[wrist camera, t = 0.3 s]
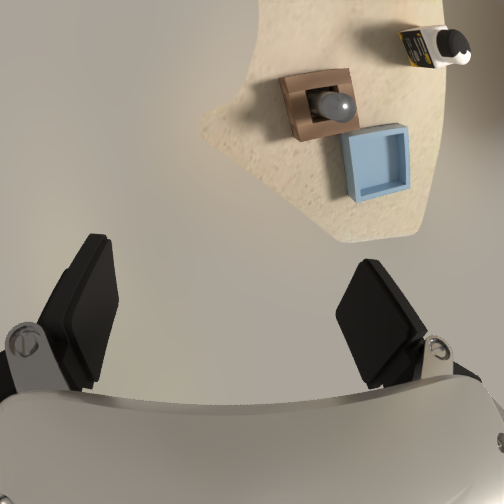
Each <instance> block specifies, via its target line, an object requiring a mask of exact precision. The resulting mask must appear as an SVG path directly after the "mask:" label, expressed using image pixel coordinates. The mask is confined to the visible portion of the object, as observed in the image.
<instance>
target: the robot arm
mask: <svg viewBox="0 0 504 504" xmlns="http://www.w3.org/2000/svg"><path fill="white" fill-rule="evenodd" d="M118 302H119V297H118V291H117V284H116V276H115V269H114V261H113V251H112V243H111V240H110V239H107V237H106V235H103V234H90V235H89V236H88V237H87V239H86V241H85V242H84V244H83V245H82V247H81V248H80V250H79V252H78V253H77V255H76V256H75V258H74V260H73V262H72V263H71V265H70V267H69V268H68V269H66V270H65V271H64V272H63V274H62V276H61V278H60V279H59V281H58V283H57V285H56V286H55V288H54V290H53V292H52V294H51V296H50V297H49V300H48V302H47V303H46V305H45V307H44V309H43V311H42V313H41V315H40V317H39V319H38V322H37V324H36V323H33V322H23V323H20V324H18V325H16V326H15V327H13V328H12V329H11V331H9V333H8V335H7V337H6V340H5V350H4V351H2V352H0V504H504V410H503V409H502V408H501V406H500V405H499V404H498V403H497V402H495V401H494V399H493V398H492V397H491V396H490V394H489V393H488V391H487V390H486V388H485V387H484V386H483V384H482V381H481V379H480V378H479V377H478V376H477V375H475V374H474V373H472V372H470V371H469V370H467V369H465V368H464V367H462V366H460V365H459V364H457V363H455V362H454V361H453V352H452V349H451V347H450V346H449V344H448V343H447V342H446V341H445V340H444V339H442V338H441V337H438V336H436V335H430V336H428V337H427V338H426V340H424V338H423V336H424V335H425V334H426V333H427V331H428V330H427V329H426V327H425V326H424V324H423V323H422V321H421V320H420V318H419V316H418V315H417V313H416V312H415V311H414V309H413V307H412V306H411V305H410V303H409V302H408V300H407V299H406V297H405V296H404V294H403V293H402V292H401V290H400V289H399V287H398V286H397V285H396V283H395V282H394V280H393V279H392V278H391V276H390V275H389V274H388V272H387V271H386V270H385V268H384V267H383V266H382V264H381V263H380V262H379V261H378V260H374V259H364V260H363V261H362V262H360V263H359V265H358V267H357V269H356V271H355V273H354V275H353V277H352V279H351V281H350V284H349V285H348V288H347V290H346V292H345V294H344V296H343V298H342V300H341V302H340V304H339V305H338V307H337V309H336V319H337V321H338V324H339V326H340V328H341V330H342V333H343V335H344V337H345V339H346V342H347V344H348V346H349V348H350V351H351V353H352V356H353V358H354V360H355V363H356V365H357V368H358V370H359V372H360V375H361V377H362V380H363V381H364V382H365V383H366V384H367V386H368V389H374V388H378V387H380V386H381V385H382V384H383V387H384V388H383V389H378V390H373V391H368V392H362V393H357V394H351V395H345V396H339V397H332V398H325V399H317V400H309V401H299V402H288V403H275V404H255V405H196V404H178V403H164V402H153V401H144V400H135V399H126V398H119V397H112V396H106V395H99V394H92V393H85V392H82V388H88V389H92V388H93V384H94V382H98V380H99V377H100V373H101V368H102V364H103V359H104V355H105V351H106V347H107V343H108V339H109V336H110V332H111V329H112V325H113V321H114V318H115V315H116V311H117V308H118Z"/></svg>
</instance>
